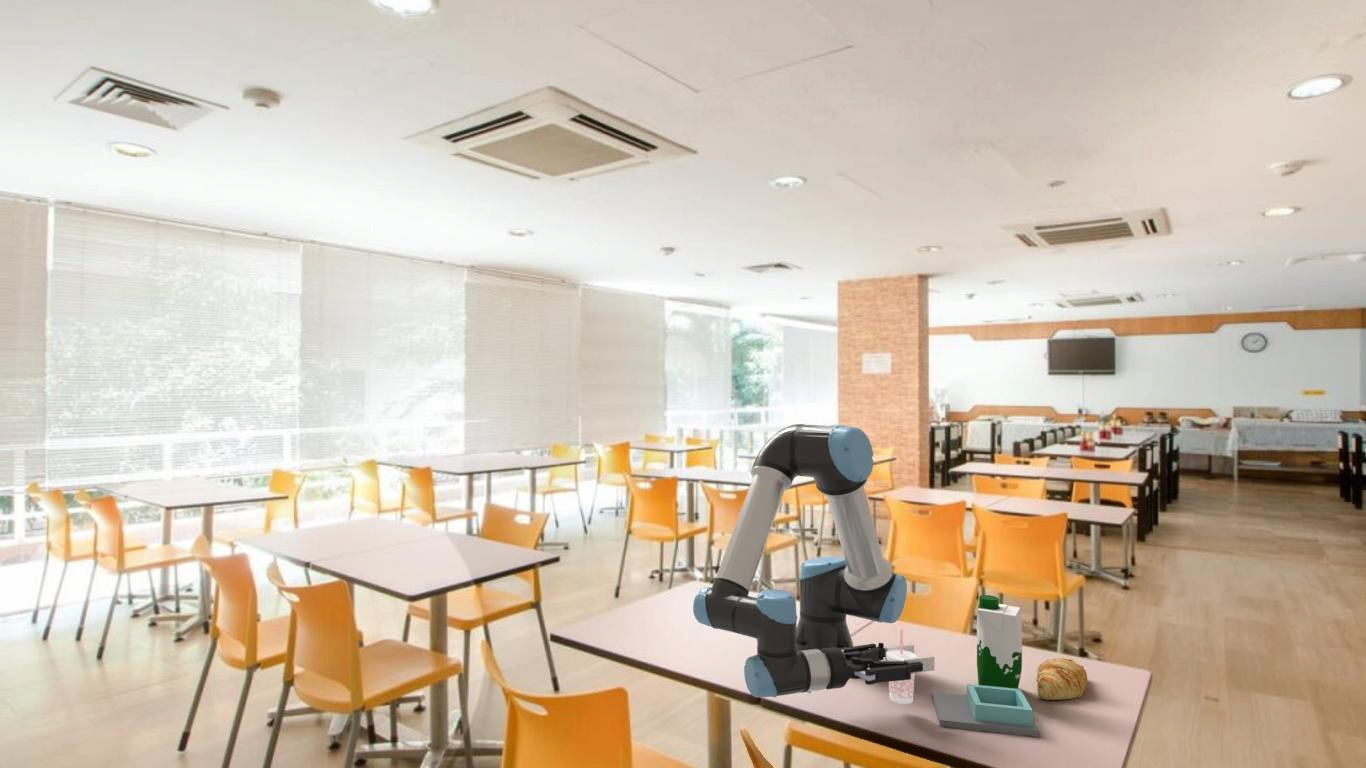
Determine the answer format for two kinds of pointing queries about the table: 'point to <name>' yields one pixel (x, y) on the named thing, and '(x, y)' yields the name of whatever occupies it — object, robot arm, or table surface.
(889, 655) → the beverage cup
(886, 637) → the table surface
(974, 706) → the dock
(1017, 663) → the milk carton
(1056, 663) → the croissant
